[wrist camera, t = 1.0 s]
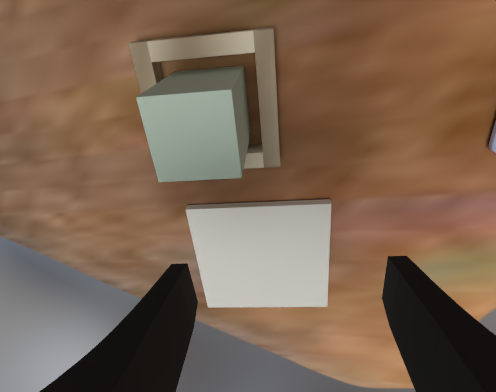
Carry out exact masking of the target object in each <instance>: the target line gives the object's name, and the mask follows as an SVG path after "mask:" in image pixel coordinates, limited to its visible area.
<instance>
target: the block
mask: <svg viewBox="0 0 496 392" xmlns="http://www.w3.org/2000/svg"><path fill="white" fill-rule="evenodd" d="M136 99H137V103H138V106H139V110H140V114H141V118H142V121H143V125H144V129H145V133H146V136H147V140H148V144H149V148H150V151H151V155H152V159H153V163H154V166H155V170H156V174H157V178H158V181H159V182H172V181H192V180H212V179H232V178H242V174H243V169H244V164H245V159H246V154H247V149H248V144H249V139H250V134H251V133H250V122H249V112H248V101H247V91H246V80H245V70H244V65H240V66H229V67H218V68H207V69H196V70H185V71H175V72H173V73H172V74H170V75H169V76H167V77H166V78H164V79H163V80H161V81H160V82H158V83H157V84H155V85H154V86H152V87H151V88H149V89H148V90H146V91H145V92H143V93H142V94H140V95H139V96H137V97H136Z"/></svg>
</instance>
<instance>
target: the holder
mask: <svg viewBox="0 0 496 392" xmlns="http://www.w3.org/2000/svg"><path fill="white" fill-rule="evenodd" d="M128 45H129V49H130V53H131V56H132V60H133V64H134V68H135V72H136V76H137V80H138V84H139V88H140V91H141V94H142V93H143V92H145V91H146V90H148V89H149V88H151V87H152V86H154V85H155V84H157V83H158V82H160V81H161V80H163V74H162V70H161V65H160V61H170V60H180V59H191V58H202V57H212V56H223V55H233V54H244V53H254V52H255V60H256V73H257V86H258V99H259V111H260V124H261V137H262V144H261V145H248V149H247V154H246V159H245V164H244V169H248V168H267V167H280V146H279V126H278V105H277V85H276V65H275V44H274V27H267V28H258V29H248V30H238V31H229V32H219V33H209V34H199V35H190V36H180V37H170V38H161V39H151V40H141V41H135V42H131V43H128Z"/></svg>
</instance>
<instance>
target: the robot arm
mask: <svg viewBox="0 0 496 392" xmlns="http://www.w3.org/2000/svg"><path fill="white" fill-rule="evenodd" d="M489 149H490V150H491V151H493V152H495V153H496V122H495V125H494V128H493V132H492V135H491V138H490V142H489ZM382 299H383V303H384V307H385V311H386V315H387V318H388V322H389V325H390V328H391V331H392V333H393V336H394V338H395V341H396V343H397V346H398V348H399V351H400V353H401V356H402V358H403V361H404V363H405V366H406V368H407V371H408V373H409V376H410V378H411V381H412V383H413V386H414V388H415V390H416V392H496V335H494V334H493V333H492V332H490V331H489V330H488V329H487V328H485V327H484V326H483V325H482V324H481V323H479V322H478V321H477V320H476V319H474V318H473V317H472V316H471V315H470V314H468V313H467V312H466V311H465V310H464V309H463V308H462V307H460V306H459V305H458V304H457V303H456V302H455V301H454V300H453V299H451V298H450V297H449V296H448V295H447V294H446V293H445V292H444V291H443V290H442V289H441V288H439V287H438V286H437V285H436V284H435V283H434V282H433V281H432V280H431V279H430V278H429V277H428V276H427V275H426V274H425V273H424V272H423V271H422V270H421V269H420V268H419V267H418V266H417V265H416V264H415V263H413V262H412V261H411V260H410V259H409V258H408V257H407V256H388V260H387V267H386V274H385V281H384V288H383V295H382ZM197 303H198V301H197V297H196V293H195V290H194V286H193V282H192V279H191V275H190V271H189V268H188V264H171V265H170V267H169V268H168V269H167V270H166V271H165V272H164V274H163V275H162V276H161V277H160V278H159V280H158V281H157V282H156V283H155V284H154V286H153V287H152V288H151V289H150V290H149V291H148V293H147V294H146V295H145V296H144V297H143V298H142V299H141V301H140V302H139V303H138V304H137V305H136V306H135V307H134V309H133V310H132V311H131V312H130V313H129V314H128V315H127V316H126V317H125V318H124V319H123V320H122V321H121V322H120V323H119V325H117V326H116V327H115V329H114V330H113V331H112V332H111V333H109V334H108V336H106V337H105V338H104V339H103V340H102V341H101V342H100V343H99V344H98V345H97V346H96V347H95V348H94V349H92V350H91V351H90V352H89V353H88V354H87V355H85V356H84V357H83V358H82V359H81V360H80V361H78V362H77V363H76V364H75V365H73V366H72V367H71V368H70V369H68V370H67V371H66V372H65V373H63V374H62V375H61V376H60V377H58V379H56V380H55V381H53V382H52V383H51V384H49V385H48V386H47V387H45V388H44V389H43V390H41V391H40V392H176V388H177V385H178V381H179V378H180V374H181V371H182V367H183V364H184V360H185V357H186V353H187V350H188V346H189V343H190V339H191V335H192V332H193V328H194V322H195V317H196V310H197Z"/></svg>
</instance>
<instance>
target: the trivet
mask: <svg viewBox="0 0 496 392" xmlns="http://www.w3.org/2000/svg"><path fill="white" fill-rule="evenodd" d="M186 214H187V218H188V222H189V227H190V231H191V235H192V240H193V244H194V248H195V253H196V257H197V261H198V266H199V270H200V274H201V279H202V283H203V287H204V292H205V296H206V301H207V305H208V307H327V298H328V274H329V250H330V225H331V200H330V199H320V200H296V201H272V202H248V203H224V204H201V205H187V208H186Z"/></svg>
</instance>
